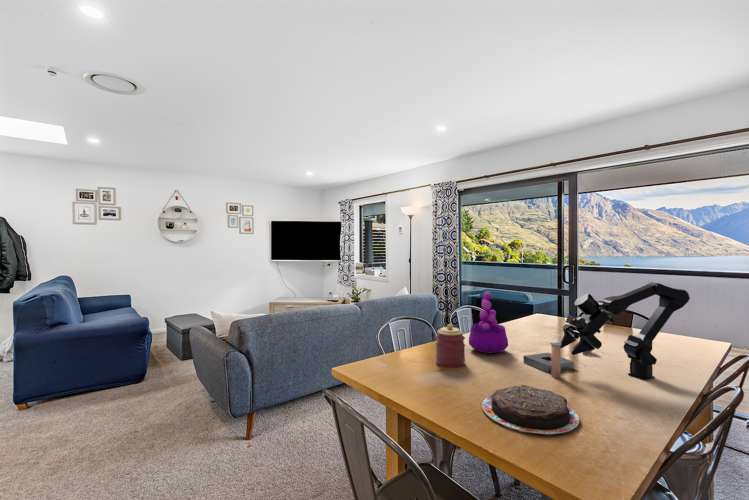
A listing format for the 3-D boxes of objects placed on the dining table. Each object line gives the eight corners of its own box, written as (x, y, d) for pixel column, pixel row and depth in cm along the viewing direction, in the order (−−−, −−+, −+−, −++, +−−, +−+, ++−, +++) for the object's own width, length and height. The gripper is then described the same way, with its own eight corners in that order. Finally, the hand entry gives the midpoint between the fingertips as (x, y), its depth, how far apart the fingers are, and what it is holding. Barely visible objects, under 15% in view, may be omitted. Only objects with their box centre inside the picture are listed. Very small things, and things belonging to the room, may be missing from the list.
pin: (564, 378, 139) (563, 342, 139) (556, 379, 137) (555, 343, 137) (555, 374, 143) (555, 340, 142) (548, 375, 141) (547, 341, 141)
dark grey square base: (574, 368, 149) (574, 361, 149) (548, 372, 144) (548, 365, 144) (548, 359, 162) (548, 352, 162) (523, 362, 158) (523, 355, 158)
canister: (462, 358, 164) (462, 321, 164) (467, 368, 151) (466, 327, 151) (434, 358, 165) (434, 320, 165) (436, 367, 152) (436, 327, 152)
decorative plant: (511, 358, 164) (510, 294, 164) (470, 356, 168) (469, 293, 168) (504, 346, 183) (504, 289, 182) (467, 345, 186) (467, 288, 186)
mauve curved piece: (591, 358, 167) (597, 345, 167) (582, 354, 167) (589, 341, 167) (579, 352, 177) (585, 340, 177) (571, 348, 177) (577, 336, 177)
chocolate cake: (465, 414, 110) (465, 393, 110) (505, 388, 130) (505, 371, 130) (561, 450, 90) (561, 425, 90) (591, 413, 110) (591, 392, 110)
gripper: (567, 304, 149) (540, 330, 149) (593, 313, 130) (563, 342, 131) (585, 323, 149) (559, 349, 149) (615, 334, 130) (584, 363, 130)
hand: (565, 350), depth 140 cm, fingers open, 9 cm apart
